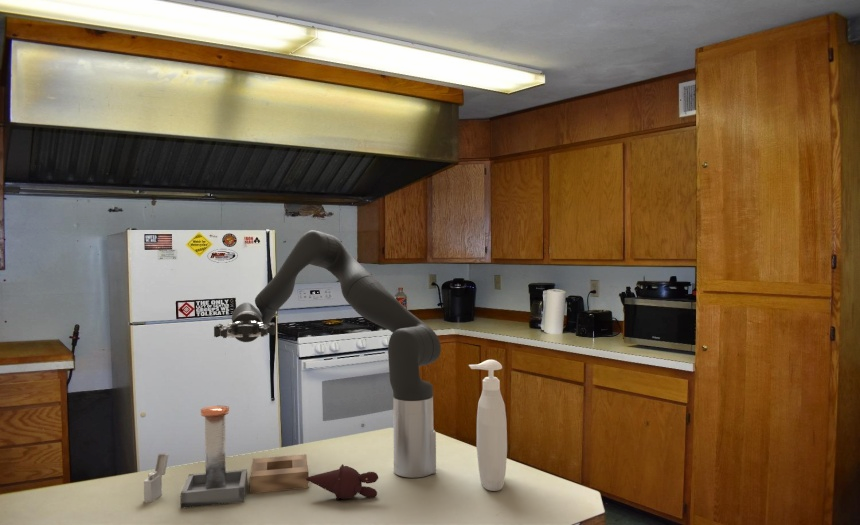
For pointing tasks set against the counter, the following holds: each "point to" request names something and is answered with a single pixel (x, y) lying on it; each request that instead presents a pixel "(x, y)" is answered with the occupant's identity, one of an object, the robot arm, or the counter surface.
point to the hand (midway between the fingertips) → (243, 332)
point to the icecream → (345, 482)
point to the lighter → (155, 479)
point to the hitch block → (279, 473)
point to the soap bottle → (491, 429)
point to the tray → (214, 490)
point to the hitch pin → (215, 446)
